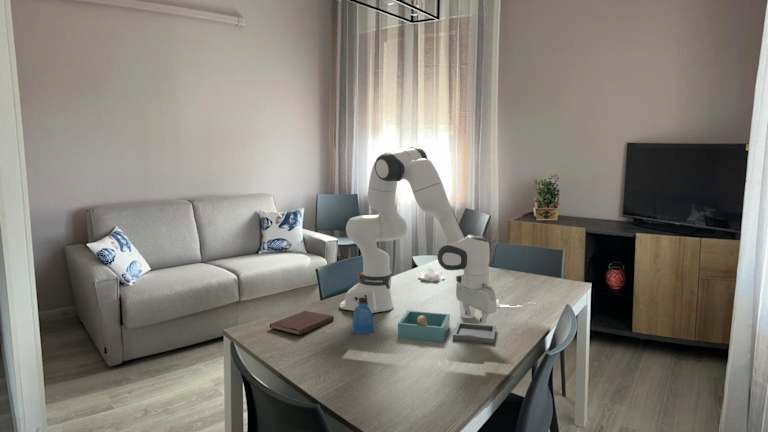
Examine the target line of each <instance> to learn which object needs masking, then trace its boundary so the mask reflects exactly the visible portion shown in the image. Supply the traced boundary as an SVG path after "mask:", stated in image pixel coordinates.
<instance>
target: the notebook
mask: <svg viewBox="0 0 768 432" xmlns="http://www.w3.org/2000/svg"><path fill="white" fill-rule="evenodd" d="M334 319H335V318H334V315H331V314H325V313H324V314H323V313H317V312H314V311H309V310H303V311H301V312H298V313H295V314H293V315H289V316H287V317H284V318H282V319H279V320H276V321H274V322H272V323H270V324H269V328H270V329H274V330H277V331H281V332H285V333H288V334H289V333H290V334H293V335H298V336H301V335H303V334H305V333H308V332H309V331H312V330H315V329H317V328H319V327H321V326H324V325H326V324H328V323H330V322H333V321H334ZM332 320H333V321H332Z"/></svg>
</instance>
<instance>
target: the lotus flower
mask: <svg viewBox="0 0 768 432" xmlns="http://www.w3.org/2000/svg"><path fill="white" fill-rule="evenodd" d="M420 273H421V276H420V275H418V274H417V277H418V278H420V280H421V281H425V282H430V283H432V282H439V281H442V280H444V278H445V277H446V275H443V271H442V270H441V269H438V271H437V272H435V271H434V268H433V267H431V266H428V267H427V268H426V270H425V271H424V272H422V271H420Z"/></svg>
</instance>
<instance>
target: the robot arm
mask: <svg viewBox="0 0 768 432" xmlns="http://www.w3.org/2000/svg"><path fill="white" fill-rule="evenodd" d="M401 180H406V181H407V182H408V183H409V185H410V188H411V191H412V195H413V196H414V199H415V201H416V203H417V205H418V207H419V208H420V210H421V211H422V212H424V213H426V214H428V215H431V216H432V217H434V218H435V219H436V220H437V221H438V223H439V224H440V226H441V229H442V231H443V233H444V235H445V237H446V241H447V243H446V244H444V245H443V246H442V247H441V248H439V250H438V253H437V261H438V264H439V265H440V266H441V267H442V268H443V269H444V270H446V271H459V270H462V271H463V274H460V275H457V276H455V281H456V285H455V297H456V299H457V301H461V302H463V307H464V310H465V315H467V316H470V315H471V311H470V308H469V306H472V307H474V308H476V309H475V310H478V311H480V312H481V317H479V323H480V324H482V325H486V324H487V319H488V317H489V315H490V314H492V315H493V314H496V313H497V309H498V308H497V303H496V299H497V295H496V293H495V291H494V288H493V286H491V285H490V271H489V264H490V261H491V260H490V259H491V258H490V257H491V253H490V251H491V250H490V243H489V240H488V239H487V238H486V237H484V236H482V235H477V234H467V236H466V235H465V234H464V232H463V230H462V228H461V226H460V224H459V221H458V219H457V216H456V214H455V212H454V210H453V208H452V206H451V204H450V201H449V199H448V196H447V193H446V190H445V187H444V185H443V182H442V179H441V177H440V174H439V173H438V171H437V169H436V167H435V166H434V164H433V163H432V161H431V160H430V159H428V156H427V154H426V151H425V150H423V149H422V148H420V147H417V146H416V147H415V146H411V147H408V148H407V147H403V148H398V149H396V150H392V151H390V152H385V153H382V154H381V155H379V156H378V157H376V160H375V162H373V166H372V169H371V172H370V176H369V183H368V189H367V197H366V201H367V204H368V206H369V207H370V208H371V209H373V210H375V211H377V213H378V214H370V215H369V214H366V215H365V214H364V215H361V214H360V215H358V216H353V217H351V218H349V219H348V221H347V222H346V226H345V232H346V236H347V238H348V239H349V240H350V241H352V242H353V243H354V244H355V245H356V246H357V247H358V248H359V251H360V254H361V256H362V265H363V266H362V268H363V269H362V272H361V273H360V274H359V276H357V280H358V283H356V284H355V285H353V286H352V287H350V288H349V289H348V290H347V291H346V294H345V297H344V298H345V299H344V300H343V301H341V302H340V303H339V308H340V309H341V310H348V311H352V312H354V310H355V308H356V307H357V306H359V305H358V302H359V298H367V302H368V305H367V306H368V307H369V309H370V311H371V313H372V314H375V313H379V312H386V311H390V310H392V309H394V307H395V306H394V303H393V299H392V293H391V292H392V291H391V287H392V276H391V275H392V274H391V269H390V268H391V264H390V263H391V257H390V254H389V253H388V252H386V251H385V250H383V249H381V248H378V244H377V242H389V241H391V242H392V241H396V240H400V239H403V238H404V237H405V235H406V233H407V231H408V227H407V221H406V220H405V218H404V217H403V216H402V215H401V214H399V212H398V210H397V208H396V193H397V187H398V182H400V181H401Z"/></svg>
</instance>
